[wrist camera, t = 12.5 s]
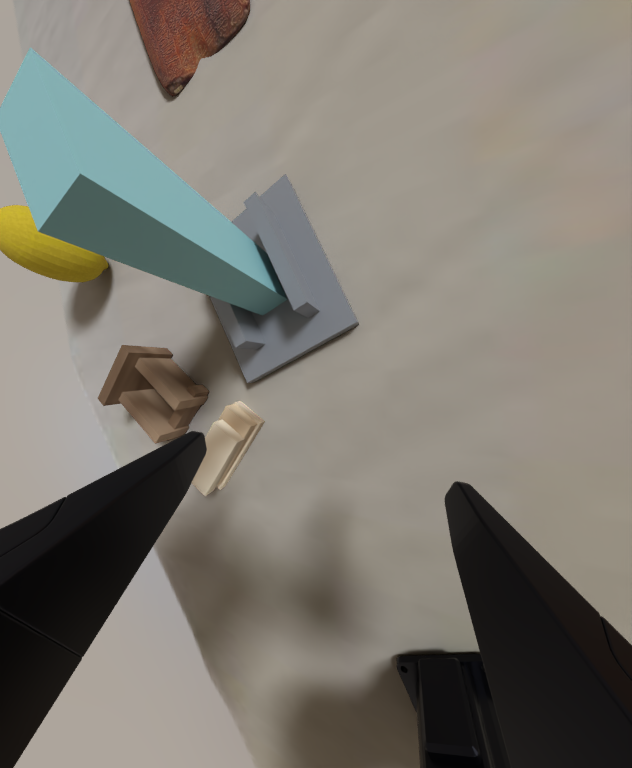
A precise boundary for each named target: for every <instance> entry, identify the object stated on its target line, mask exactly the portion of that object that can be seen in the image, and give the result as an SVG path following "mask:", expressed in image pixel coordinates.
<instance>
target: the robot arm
mask: <svg viewBox="0 0 632 768" xmlns="http://www.w3.org/2000/svg"><path fill="white" fill-rule="evenodd" d="M206 452H207V447H206V442H205V436H204V434H203V433H201V432H196V431H191V432H189V433H187V434H185V435H183V436H181V437H179V438H177V439H175V440H173V441H171V442H169V443H168V444H166V445H164V446H162V447H160V448H158V449H156V450H154V451H152V452H150V453H148V454H146V455H144V456H143V457H141V458H139V459H137V460H135V461H133V462H131V463H129V464H127V465H125V466H123V467H121V468H119V469H118V470H116V471H114V472H112V473H110V474H108V475H106V476H104V477H102V478H100V479H98V480H96V481H94V482H93V483H91V484H89V485H87V486H85V487H83V488H81V489H79V490H77V491H75V492H73V493H71V494H69V495H68V496H67V497H64V498H62V499H60V500H58V501H56V502H54V503H52V504H50V505H48V506H46V507H44V508H42V509H40V510H38V511H36V512H34V513H32V514H30V515H28V516H27V517H24V518H23V519H20V520H18V521H16V522H14V523H12V524H10V525H8V526H6V527H4V528H1V529H0V768H13V767H14V766H15V764H16V762H17V761H18V759H19V758H20V756H21V755H22V753H23V751H24V750H25V748H26V747H27V745H28V743H29V742H30V740H31V739H32V737H33V736H34V734H35V732H36V731H37V729H38V728H39V726H40V725H41V723H42V721H43V720H44V718H45V717H46V715H47V713H48V712H49V710H50V709H51V707H52V706H53V704H54V702H55V701H56V699H57V698H58V696H59V694H60V693H61V691H62V690H63V688H64V687H65V685H66V683H67V682H68V680H69V678H70V677H71V675H72V674H73V672H74V671H75V669H76V668H77V666H78V664H79V663H80V661H81V659H82V657H83V656H84V654H85V653H86V651H87V650H88V648H89V647H90V645H91V643H92V642H93V640H94V638H95V637H96V635H97V634H98V632H99V631H100V629H101V628H102V626H103V624H104V623H105V621H106V619H107V618H108V616H109V615H110V613H111V612H112V610H113V609H114V607H115V605H116V604H117V602H118V601H119V599H120V597H121V596H122V594H123V593H124V591H125V590H126V588H127V586H128V585H129V583H130V582H131V580H132V578H133V577H134V575H135V574H136V572H137V571H138V569H139V567H140V566H141V564H142V562H143V561H144V559H145V558H146V556H147V555H148V553H149V552H150V550H151V548H152V547H153V545H154V544H155V542H156V540H157V539H158V537H159V536H160V534H161V533H162V531H163V529H164V528H165V526H166V525H167V523H168V521H169V520H170V518H171V517H172V515H173V514H174V512H175V510H176V509H177V507H178V506H179V504H180V502H181V501H182V499H183V498H184V496H185V494H186V492H187V491H188V489H189V487H190V485H191V483H192V481H193V479H194V477H195V475H196V473H197V471H198V469H199V467H200V465H201V463H202V461H203V459H204V457H205V455H206ZM445 507H446V513H447V519H448V525H449V531H450V537H451V543H452V548H453V552H454V556H455V560H456V564H457V568H458V572H459V575H460V579H461V583H462V587H463V590H464V594H465V598H466V601H467V605H468V609H469V613H470V616H471V620H472V624H473V627H474V631H475V635H476V639H477V642H478V646H479V650H480V654H462V655H425V656H400V657H398V658H397V670H398V672H399V674H400V676H401V679H402V681H403V683H404V685H405V688H406V690H407V692H408V694H409V697H410V699H411V701H412V703H413V706H414V708H415V710H416V712H417V721H418V737H419V754H420V768H632V645H631V644H630V643H629V642H628V641H627V640H626V639H625V638H624V637H623V636H622V635H621V634H620V633H619V632H618V631H617V630H616V629H615V628H614V627H613V626H612V625H611V624H610V623H609V622H608V621H607V620H606V619H605V618H604V617H602V616H600V614H599V613H598V612H597V611H596V610H595V609H594V608H593V607H592V606H591V605H590V604H589V603H588V602H587V601H586V600H585V599H584V598H583V597H582V596H581V595H580V594H579V593H578V592H577V591H576V590H575V589H574V588H573V587H572V586H571V585H570V584H569V583H568V582H567V581H566V580H565V579H564V578H563V577H562V576H561V575H560V574H559V573H558V572H557V571H556V570H555V569H554V568H553V567H552V566H551V565H550V564H549V563H548V562H547V561H546V560H545V559H544V558H543V557H542V556H541V555H540V554H539V553H538V552H537V551H536V550H535V549H534V548H533V547H532V546H531V545H530V544H529V543H528V542H527V541H526V540H525V539H524V538H523V537H522V536H521V535H520V534H519V533H518V532H517V531H516V530H515V529H514V528H513V527H512V526H511V525H510V524H509V523H508V522H507V521H506V520H505V519H504V518H503V517H502V516H501V515H500V514H499V513H498V512H497V511H496V510H495V509H494V508H493V507H492V506H491V505H490V504H489V503H488V502H487V501H486V500H485V499H484V498H483V497H482V496H481V495H480V494H479V493H478V492H477V491H476V490H475V489H474V488H473V487H472V486H471V485H470V484H468V483H463V482H458V481H456V482H454V483H453V485H452V486H451V488H450V489H449V491H448V492H447V494H446V496H445Z"/></svg>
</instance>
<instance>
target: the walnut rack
mask: <svg viewBox="0 0 632 768" xmlns="http://www.w3.org/2000/svg"><path fill="white" fill-rule="evenodd" d="M172 356H173V354H172V353H171V352H170V351H169V350H168V349H167V348H155V347H141V346H128V345H122V346H121V348H120V350H119V353H118V355H117V357H116V359H115V361H114V364H113V366H112V368H111V370H110V372H109V375H108V377H107V379H106V381H105V383H104V386H103V388H102V390H101V392H100V394H99V397H98V399H99V401H100V402H101V403H102V404H103V406H106V405H113V404H120V403H121V404H122V405H123V406H124V407H125V408H126V410H127V411H128V412H129V413H130V414H131V416H132V417H133V418H134V419H135V420H136V421H137V423H138V424H139V425H140V426H141V427H142V428H143V430H144V431H145V432H146V433H147V434H148V436H149V437H150V438H151V439H152V440H153V441H154V443H155V444H156V443H159V442H162V441H165V440H167V441H168V440H171V439H174V438H177V437H180V436H182V435H183V434H185V433H186V431H187V430H188V428H189V426H188V425H189V423H190V422H191V420H192V419H193V417H194V415H195V414H196V412H197V410H198V409H199V407H200V406H201V405H203V404H204V403H205V401H206V400H207V398H208V396H207V394H208V393H209V391H208V390H207V389H206V388H205V387H204V386H203V385H196V384H195V383H194V382H193V381H192V380H191V379H190V378H189V377H188V376H187V375H186V374H185V373H184V372H183V370H182V369H181V368H180V367H179V366H178V365H177V364H176V363H175V362H174V361H173V360H172V359H171V358H172ZM155 389H156V390H157V391H158V392H157V391H156V390H155ZM163 398H164V399H165V400H166V401H167V402H168V403H167V402H166V401H165V400H164V399H163ZM173 409H174V410H175V411H174V410H173Z"/></svg>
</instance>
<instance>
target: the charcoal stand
mask: <svg viewBox="0 0 632 768" xmlns="http://www.w3.org/2000/svg"><path fill="white" fill-rule="evenodd" d="M244 204H245V206H246V208H247V209H245V210H244V211H243V212H242V213H241V214H240V215H239V216H238V217H236V218H235V219H234V220H233V221H232V223H233V224H234V225H235V226H236V227H237V228H239V229H240V230H241V231H242V232H243V233H244V234H245V235H247V236H248V237H249V238H250V239H251V240H252V241H253V242H255V243H256V244H257V245H258V246H259V247H260V248H261V249H263V250H264V251H265V252H266V253H267V255H268V257H269V259H270V262H271V264H272V266H273V268H274V270H275V273H276V275H277V277H278V279H279V282H280V284H281V286H282V288H283V290H284V293H285V295H286V297H287V299H288V300H286V301H285V302H283V303H281V304H280V305H278V306H277V307H275V308H274V309H272V310H271V311H269V312H268V313H266V314H264V315H263V316H262V315H260V314H257V313H254V312H252V311H249V310H246V309H244V308H241V307H238V306H236V305H233V304H230V303H228V302H225V301H222V300H220V299H217V298H214V297H212V296H210V299H211V301H212V303H213V306H214V308H215V310H216V313H217V315H218V317H219V319H220V322H221V324H222V326H223V329H224V331H225V333H226V335H227V338H228V340H229V342H230V345H231V347H232V349H233V352H234V354H235V356H236V358H237V361H238V363H239V365H240V368H241V370H242V372H243V375H244V377H245V379H246V381H247V383H251V382H255V381H257V380H259V379H261V378H263V377H264V376H266V375H268V374H270V373H272V372H273V371H275V370H277V369H279V368H281V367H283V366H284V365H286V364H288V363H290V362H292V361H293V360H295V359H297V358H299V357H301V356H302V355H304V354H306V353H308V352H310V351H312V350H313V349H315V348H317V347H319V346H321V345H322V344H324V343H326V342H328V341H330V340H332V339H333V338H335V337H337V336H339V335H341V334H342V333H344V332H346V331H348V330H350V329H352V328H353V327H355V326H357V325H359V323H358V320H357V318H356V316H355V314H354V312H353V310H352V308H351V306H350V304H349V302H348V300H347V298H346V296H345V294H344V292H343V290H342V287H341V285H340V283H339V281H338V279H337V277H336V275H335V273H334V271H333V269H332V267H331V265H330V263H329V261H328V259H327V256H326V254H325V252H324V250H323V248H322V246H321V244H320V242H319V240H318V238H317V236H316V234H315V232H314V230H313V228H312V226H311V223H310V221H309V219H308V217H307V215H306V213H305V211H304V209H303V207H302V205H301V203H300V201H299V199H298V197H297V195H296V192H295V190H294V188H293V186H292V184H291V182H290V181H289V179H288V177H287V176H286V174H285V175H284V176H282V177H281V178H280V179H279V180H278V181H277V182H276V183H275V184H273V185H272V186H271V187H270V188H269V189H268V190H267V191H266V192H264V193H263V194H262V195H261V196H260V197H259V196H258V194H257V193H256V192H255V193H253V194H252V195H251V196H250V197H249V198H248V199H247V200H246V201H245V202H244Z"/></svg>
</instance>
